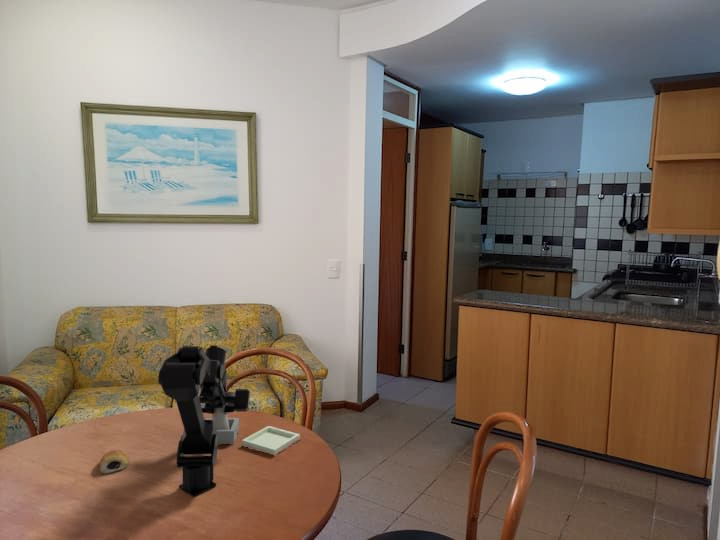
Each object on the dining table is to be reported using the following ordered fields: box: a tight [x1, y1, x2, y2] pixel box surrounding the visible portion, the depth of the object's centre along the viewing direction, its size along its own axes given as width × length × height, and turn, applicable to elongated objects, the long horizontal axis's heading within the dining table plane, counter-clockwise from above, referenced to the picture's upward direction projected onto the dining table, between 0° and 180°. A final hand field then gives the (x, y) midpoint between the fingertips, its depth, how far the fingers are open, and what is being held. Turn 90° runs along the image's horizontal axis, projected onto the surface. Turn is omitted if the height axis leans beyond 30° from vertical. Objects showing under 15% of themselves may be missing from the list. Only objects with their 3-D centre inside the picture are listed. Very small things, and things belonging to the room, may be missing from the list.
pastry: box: [99, 449, 130, 474], centre depth 129 cm, size 9×7×4 cm
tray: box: [241, 425, 301, 455], centre depth 143 cm, size 12×12×2 cm
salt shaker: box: [211, 406, 230, 430], centre depth 146 cm, size 6×6×13 cm
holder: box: [205, 417, 240, 445], centre depth 146 cm, size 10×10×4 cm
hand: (220, 412), depth 146 cm, fingers closed on salt shaker, 3 cm apart
